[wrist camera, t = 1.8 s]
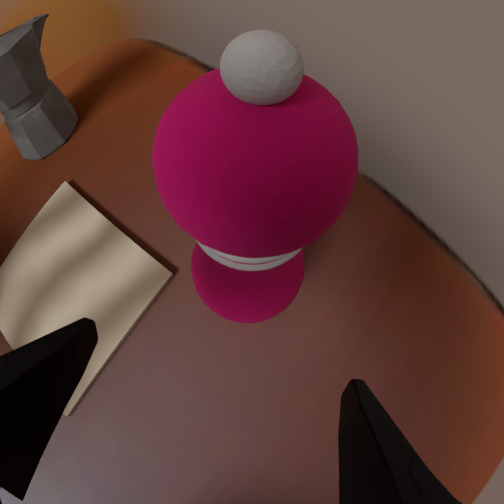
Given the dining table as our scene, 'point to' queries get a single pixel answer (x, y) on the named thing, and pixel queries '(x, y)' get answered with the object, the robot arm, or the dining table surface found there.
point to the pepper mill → (254, 173)
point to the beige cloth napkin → (76, 280)
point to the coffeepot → (32, 94)
